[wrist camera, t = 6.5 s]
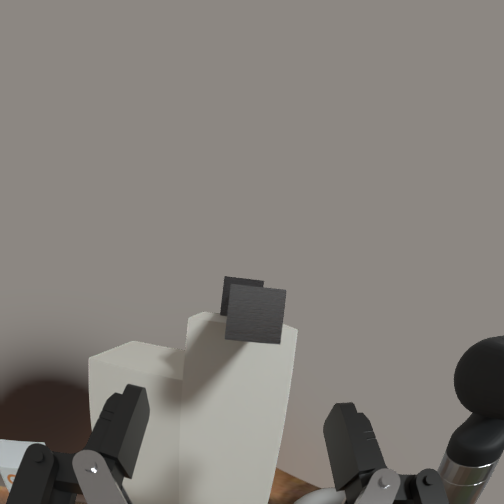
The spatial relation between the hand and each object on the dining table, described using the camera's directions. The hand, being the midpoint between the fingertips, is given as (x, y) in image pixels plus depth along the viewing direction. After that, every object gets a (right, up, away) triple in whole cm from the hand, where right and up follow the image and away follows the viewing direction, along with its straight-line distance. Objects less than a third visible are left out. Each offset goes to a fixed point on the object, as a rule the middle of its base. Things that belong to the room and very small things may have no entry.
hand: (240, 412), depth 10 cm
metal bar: (0, 0, +16) cm, 16 cm away
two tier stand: (-10, -34, +14) cm, 38 cm away
